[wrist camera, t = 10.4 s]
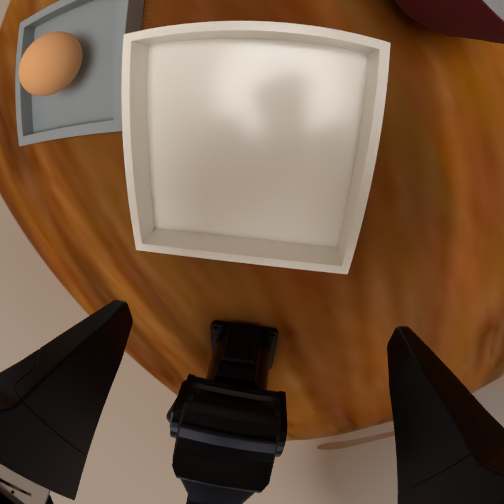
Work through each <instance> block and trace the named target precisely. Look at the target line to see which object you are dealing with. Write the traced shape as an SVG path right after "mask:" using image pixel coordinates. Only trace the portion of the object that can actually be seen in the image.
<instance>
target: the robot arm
mask: <svg viewBox="0 0 504 504" xmlns="http://www.w3.org/2000/svg"><path fill="white" fill-rule="evenodd" d="M132 323H133V320H132V316H131V313H130V310H129V307H128V304H127V302H125V301H121V300H114V301H112V302H111V303H109V304H108V305H106V306H104V307H103V308H101V309H100V310H98V311H97V312H95V313H93V314H92V315H90V316H89V317H87V318H86V319H84V320H83V321H81V322H79V323H78V324H76V325H75V326H73V327H72V328H70V329H69V330H67V331H66V332H64V333H63V334H61V335H59V336H58V337H56V338H55V339H53V340H52V341H50V342H49V343H47V344H46V345H44V346H43V347H41V348H40V349H38V350H37V351H35V352H34V353H32V354H31V355H29V356H28V357H26V358H24V359H23V360H21V361H20V362H18V363H16V364H14V365H13V366H11V367H10V368H7V369H6V370H4V371H2V372H0V504H53V501H52V499H51V496H50V495H49V493H50V491H53V492H55V493H57V494H60V495H62V496H65V497H67V498H70V499H72V500H75V497H76V494H77V490H78V486H79V483H80V479H81V475H82V472H83V468H84V465H85V461H86V458H87V454H88V451H89V448H90V445H91V442H92V439H93V436H94V433H95V430H96V427H97V424H98V421H99V418H100V415H101V412H102V409H103V407H104V404H105V401H106V399H107V396H108V393H109V391H110V388H111V386H112V383H113V381H114V378H115V375H116V373H117V370H118V368H119V365H120V363H121V360H122V357H123V354H124V350H125V347H126V343H127V340H128V337H129V333H130V330H131V327H132ZM272 333H274V334H272ZM277 337H278V331H277V330H276V329H273V328H264V327H255V326H247V325H240V324H232V323H225V322H218V321H214V322H212V324H211V340H212V358H211V362H210V366H209V369H208V373H207V377H206V379H205V378H200V377H196V376H195V375H192V374H189V375H188V377H187V380H185V381H184V382H182V385H181V388H180V391H179V394H178V396H177V398H176V400H175V402H174V403H173V405H172V406H171V408H170V410H169V411H168V413H167V420H168V421H169V423H170V434H171V437H173V438H176V442H175V448H174V454H173V464H172V466H173V469H174V472H175V475H176V477H177V478H180V479H181V481H182V483H183V485H184V487H185V489H186V491H187V493H188V497H187V503H186V504H243V503H244V502H245V501H246V500H247V499H248V498H249V497H250V496H251V495H253V494H254V493H255V492H257V493H260V492H262V491H263V490H264V489H265V487H266V486H267V485H268V484H269V481H270V476H271V472H272V468H273V463H274V459H275V457H279V456H280V455H281V454H282V451H283V449H284V446H285V442H286V436H287V410H286V394H285V392H283V391H279V392H276V391H269V390H267V384H268V374H269V369H270V368H271V367H272V363H273V358H274V353H275V347H276V342H277ZM387 354H388V370H389V389H390V397H391V404H392V412H393V421H394V431H395V442H396V456H397V477H398V492H399V493H398V504H504V428H503V427H502V426H501V425H500V424H499V423H498V422H497V421H496V420H495V419H494V418H493V417H492V416H491V415H490V414H489V413H488V411H486V409H485V408H484V407H483V406H482V405H481V404H480V403H479V402H478V401H477V399H476V398H475V397H474V396H473V395H472V394H470V392H469V390H468V389H467V388H466V387H465V386H464V385H463V384H462V383H461V382H460V380H459V379H458V378H457V377H456V376H455V375H454V374H453V373H452V372H451V371H450V369H449V368H448V367H447V366H446V365H445V364H444V363H443V362H442V361H441V360H440V359H439V358H438V357H437V356H436V355H435V353H434V352H433V351H432V350H431V349H430V348H429V347H428V346H427V345H426V344H425V343H424V342H423V341H422V340H421V339H420V338H419V337H418V336H417V335H416V334H415V333H414V332H413V331H412V330H411V329H410V328H409V327H407V326H398V327H396V329H395V330H394V332H393V334H392V336H391V338H390V340H389V342H388V346H387Z"/></svg>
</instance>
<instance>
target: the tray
mask: <svg viewBox="0 0 504 504" xmlns="http://www.w3.org/2000/svg"><path fill="white" fill-rule="evenodd" d="M143 8H144V0H60V1H58V2H56V3H54V4H52V5H50V6H48V7H47V8H45V9H43V10H41V11H39V12H38V13H36V14H34V15H32V16H31V17H29V18H28V19H26V20H24V21H23V22H21V23H20V28H19V36H18V45H17V57H16V117H17V130H18V140H19V146H23V145H27V144H32V143H37V142H42V141H48V140H54V139H60V138H66V137H73V136H80V135H88V134H96V133H106V132H117V131H122V98H121V84H122V52H123V36H124V34H128V33H132V32H137V31H141V28H142V17H143ZM55 31H62V32H67V33H69V34H72V35H73V36H74V37H76V39H77V40H78V41H79V43H80V45H81V48H82V56H83V57H82V63H81V67H80V69H79V71H78V73H77V75H76V76H75V78H74V79H73V81H72V82H71V83H70V84H69V85H68V86H67V87H65V88H64V89H63V90H61V91H59V92H57V93H55V94H52V95H49V96H36V95H33V94H31V93H29V92H27V91H26V90H25V89H24V88H23V86H22V84H21V82H20V79H19V65H20V61H21V59H22V56H23V54H24V53H25V51H26V50H27V48H28V47H29V46H30V45H31V44H32V43H33V42H34V41H35V40H36V39H38V38H39V37H41V36H43V35H45V34H47V33H50V32H55Z"/></svg>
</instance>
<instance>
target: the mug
mask: <svg viewBox="0 0 504 504" xmlns="http://www.w3.org/2000/svg"><path fill="white" fill-rule="evenodd" d="M395 2H396V3H397V5H398V6H399V8H400V9H401V10H402V11H403V12H404V13H405V14H406V15H407V16H408V17H410V18H411V19H413V20H414V21H416V22H417V23H419V24H421V25H423V26H424V27H426V28H428V29H430V30H433V31H435V32H438V33H441V34H444V35H448V36H454V37H463V38H471V39H477V40H484V41H489V42H495V43H502V44H504V0H395Z"/></svg>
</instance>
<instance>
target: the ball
mask: <svg viewBox="0 0 504 504" xmlns="http://www.w3.org/2000/svg"><path fill="white" fill-rule="evenodd" d="M82 57H83V56H82V48H81V45H80V43H79V41H78V40H77V39H76V37H74V36H73V35H72V34H69V33H67V32H62V31H55V32H50V33H47V34H45V35H43V36H41V37H39V38H38V39H36V40H35V41H34V42H33V43H32V44H31V45H30V46H29V47H28V48H27V50H26V51H25V53H24V54H23V56H22V59H21V61H20V65H19V79H20V82H21V84H22V86H23V88H24V89H25V90H26V91H27V92H29V93H31V94H33V95H36V96H49V95H52V94H55V93H57V92H59V91H61V90H63V89H64V88H65V87H67V86H68V85H69V84H70V83H71V82H72V81H73V79H74V78H75V76H76V75H77V73H78V71H79V69H80V67H81V63H82Z"/></svg>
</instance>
